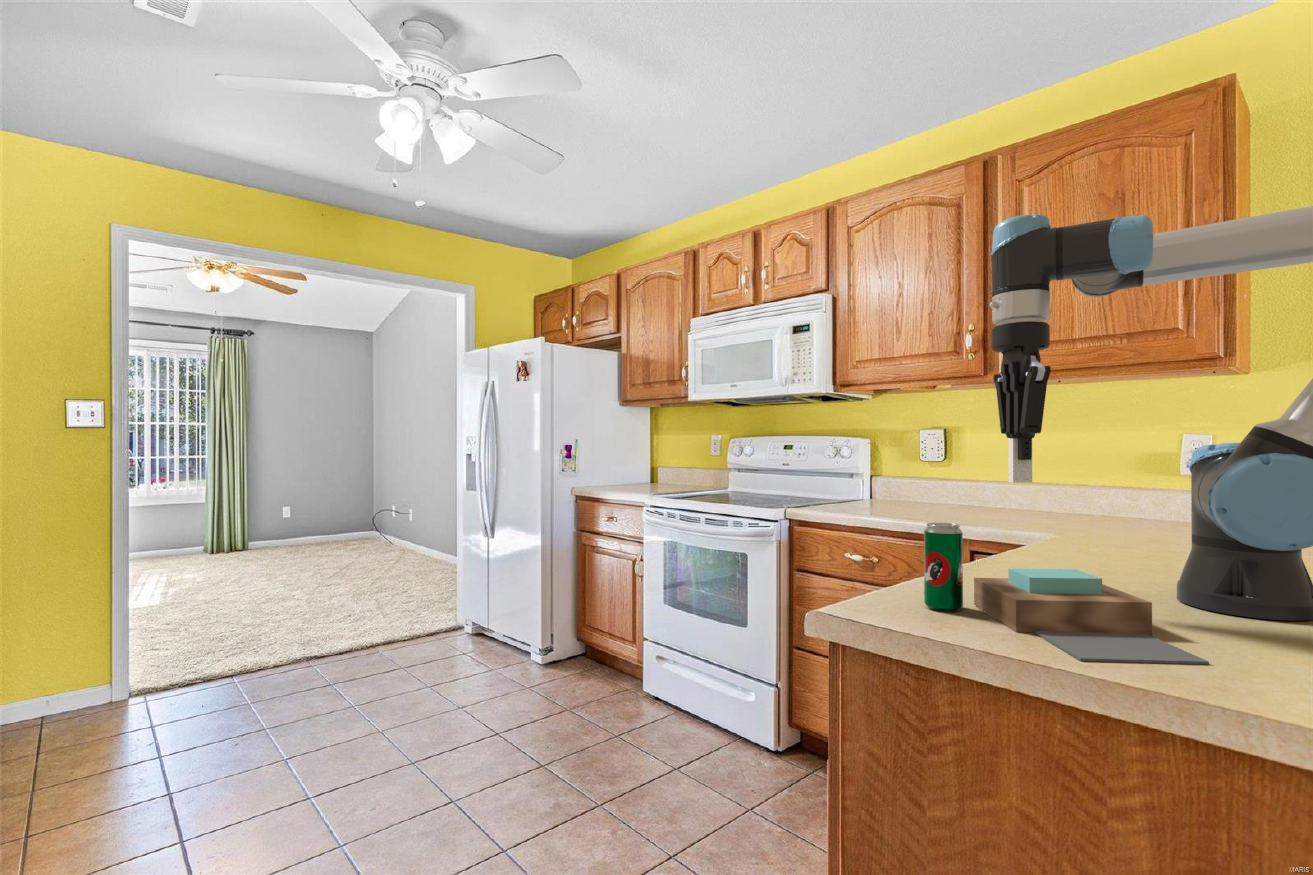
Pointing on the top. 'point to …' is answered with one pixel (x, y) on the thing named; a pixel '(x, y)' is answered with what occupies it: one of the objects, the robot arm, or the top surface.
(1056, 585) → the teal rectangular block
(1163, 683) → the top surface
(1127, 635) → the mat
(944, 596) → the soda can
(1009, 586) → the brown wooden flat block
